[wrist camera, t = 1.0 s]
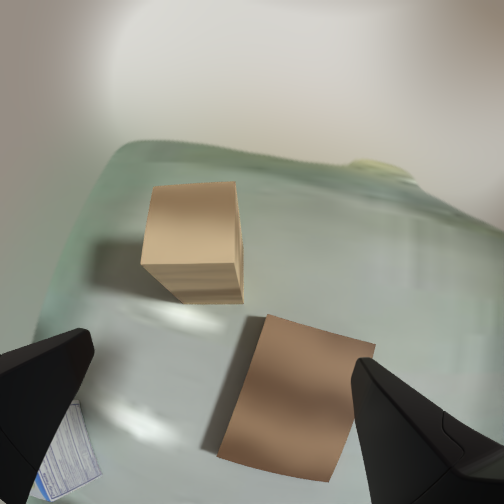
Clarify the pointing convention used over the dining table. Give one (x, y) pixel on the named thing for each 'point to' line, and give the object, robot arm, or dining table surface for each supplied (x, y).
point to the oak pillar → (196, 242)
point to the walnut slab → (295, 401)
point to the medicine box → (67, 459)
